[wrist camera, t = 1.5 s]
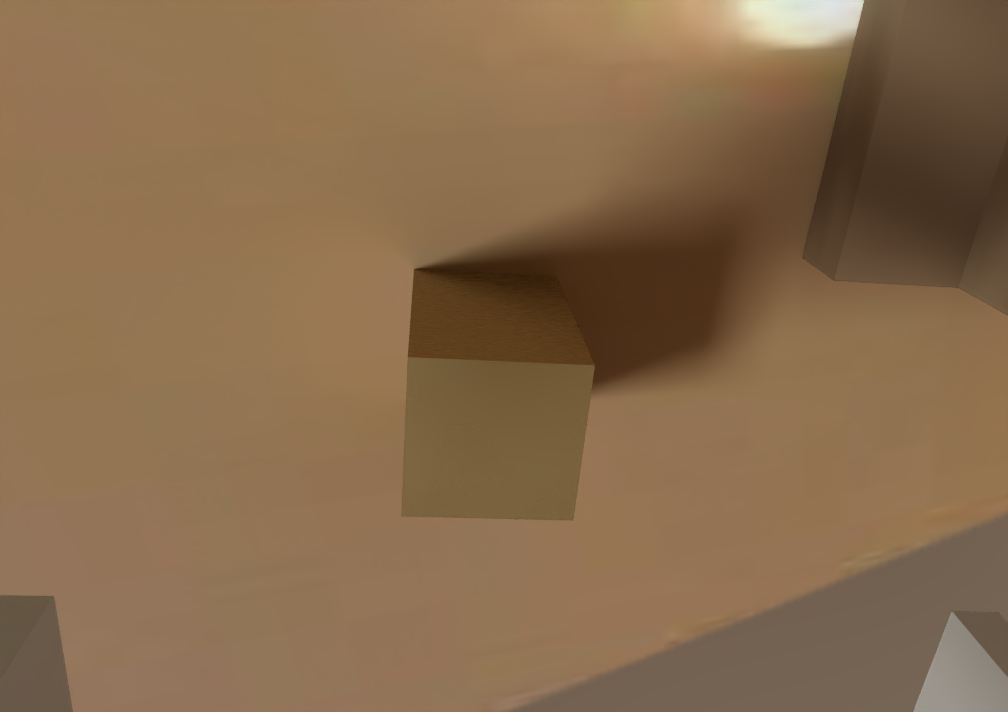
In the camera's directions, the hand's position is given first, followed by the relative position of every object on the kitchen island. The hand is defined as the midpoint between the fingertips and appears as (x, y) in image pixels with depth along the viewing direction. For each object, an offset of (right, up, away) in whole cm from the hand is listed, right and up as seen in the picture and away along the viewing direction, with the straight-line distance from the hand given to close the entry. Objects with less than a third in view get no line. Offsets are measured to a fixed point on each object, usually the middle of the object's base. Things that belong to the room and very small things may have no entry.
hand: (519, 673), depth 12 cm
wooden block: (-1, +5, +11) cm, 13 cm away
